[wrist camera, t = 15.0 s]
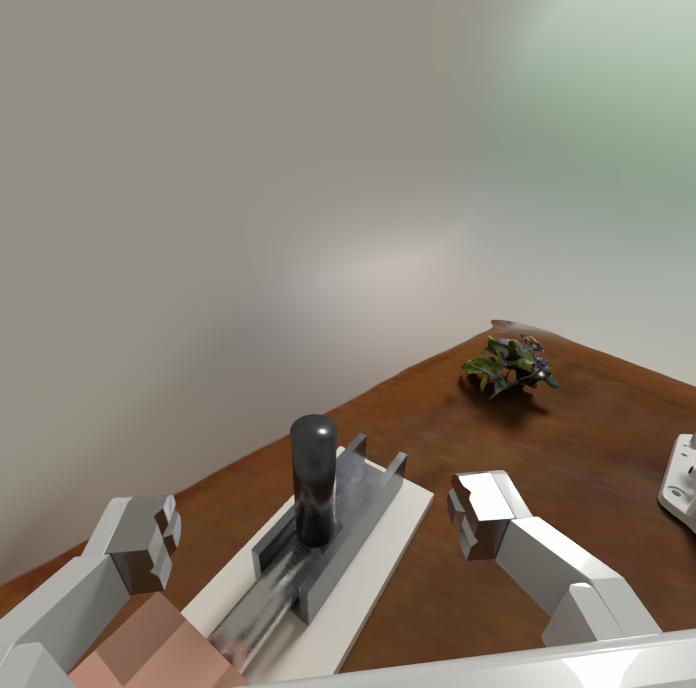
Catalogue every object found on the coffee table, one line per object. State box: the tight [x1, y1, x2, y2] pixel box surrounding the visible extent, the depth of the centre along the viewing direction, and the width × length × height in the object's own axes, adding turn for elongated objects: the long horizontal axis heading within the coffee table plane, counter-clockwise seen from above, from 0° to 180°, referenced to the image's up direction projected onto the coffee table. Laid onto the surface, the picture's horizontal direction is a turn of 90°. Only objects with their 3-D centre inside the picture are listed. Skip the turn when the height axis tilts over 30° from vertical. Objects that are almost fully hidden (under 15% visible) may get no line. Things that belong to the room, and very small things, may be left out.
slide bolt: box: [206, 414, 343, 674], centre depth 25 cm, size 16×3×14 cm, turn 146°
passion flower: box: [461, 334, 559, 400], centre depth 57 cm, size 11×11×12 cm
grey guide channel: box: [251, 433, 407, 626], centre depth 35 cm, size 16×6×5 cm, turn 146°
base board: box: [181, 446, 434, 685], centre depth 32 cm, size 30×12×2 cm, turn 146°
